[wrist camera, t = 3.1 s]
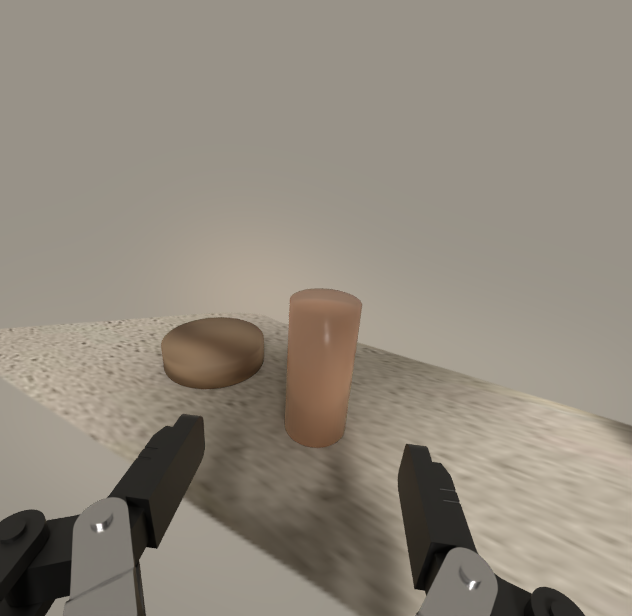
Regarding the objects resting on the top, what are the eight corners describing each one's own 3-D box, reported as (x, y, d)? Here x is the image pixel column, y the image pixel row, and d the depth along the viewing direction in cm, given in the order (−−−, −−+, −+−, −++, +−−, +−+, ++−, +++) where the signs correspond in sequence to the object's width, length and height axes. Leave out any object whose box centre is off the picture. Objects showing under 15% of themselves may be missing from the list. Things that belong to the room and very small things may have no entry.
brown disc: (216, 328, 41) (215, 310, 40) (281, 353, 36) (282, 334, 35) (142, 364, 32) (138, 343, 31) (214, 403, 28) (213, 379, 27)
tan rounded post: (305, 396, 30) (313, 283, 26) (354, 417, 28) (372, 299, 23) (272, 429, 26) (275, 303, 21) (327, 458, 24) (342, 324, 19)
